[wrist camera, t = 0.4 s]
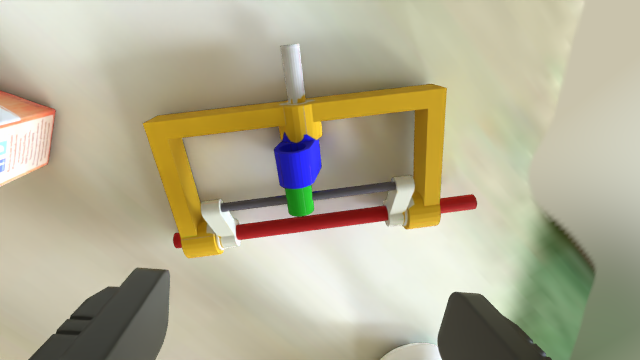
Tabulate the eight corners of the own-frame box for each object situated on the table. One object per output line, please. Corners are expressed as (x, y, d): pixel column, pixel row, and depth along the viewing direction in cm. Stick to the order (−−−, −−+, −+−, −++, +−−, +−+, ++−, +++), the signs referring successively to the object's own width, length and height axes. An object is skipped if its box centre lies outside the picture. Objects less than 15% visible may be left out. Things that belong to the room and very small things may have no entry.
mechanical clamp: (496, 241, 29) (166, 286, 28) (462, 208, 34) (187, 245, 33) (530, 18, 21) (82, 67, 20) (479, 24, 27) (128, 62, 26)
